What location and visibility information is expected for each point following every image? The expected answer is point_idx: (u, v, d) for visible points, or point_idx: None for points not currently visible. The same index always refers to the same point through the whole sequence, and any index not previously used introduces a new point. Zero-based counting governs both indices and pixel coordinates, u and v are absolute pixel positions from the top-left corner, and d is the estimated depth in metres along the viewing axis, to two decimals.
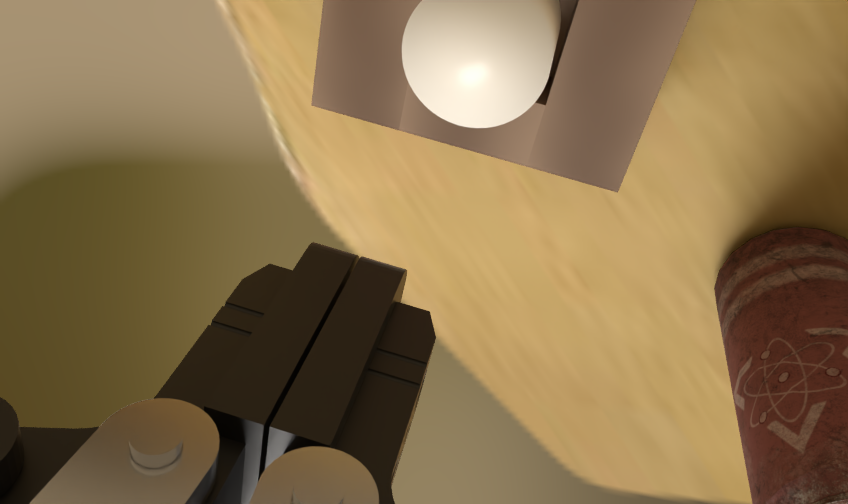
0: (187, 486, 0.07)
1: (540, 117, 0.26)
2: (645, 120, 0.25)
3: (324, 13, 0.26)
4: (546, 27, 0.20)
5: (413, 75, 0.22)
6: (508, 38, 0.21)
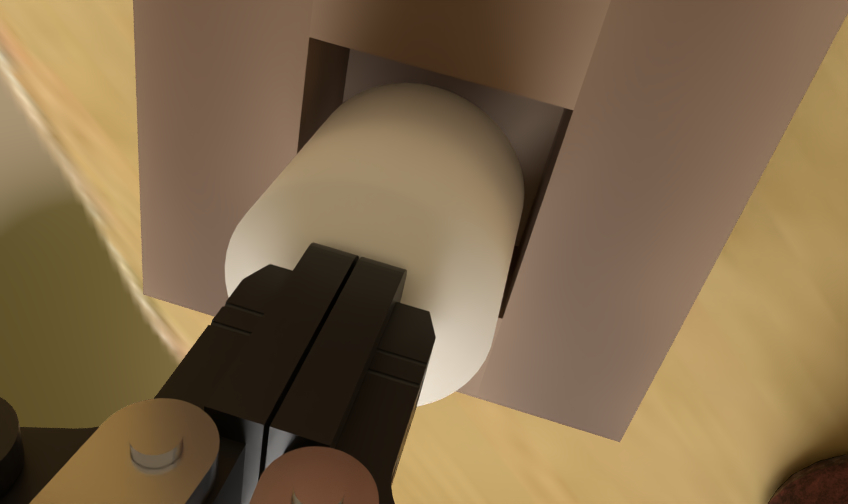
0: (187, 486, 0.07)
1: (494, 334, 0.16)
2: (665, 350, 0.15)
3: (142, 169, 0.16)
4: (483, 267, 0.11)
5: None
6: (414, 281, 0.11)
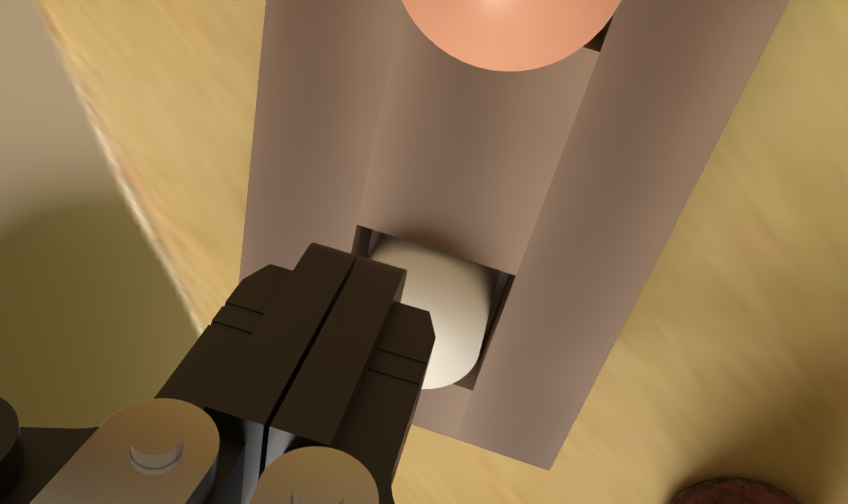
0: (187, 486, 0.07)
1: (467, 400, 0.25)
2: (576, 414, 0.24)
3: None
4: (475, 318, 0.22)
5: None
6: (440, 324, 0.22)
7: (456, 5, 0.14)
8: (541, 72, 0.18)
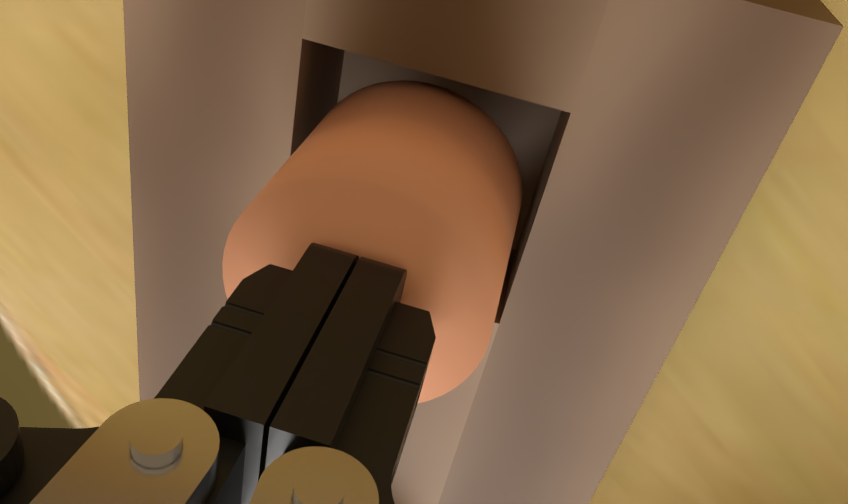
0: (187, 486, 0.07)
1: None
2: None
3: None
4: None
5: None
6: None
7: None
8: None
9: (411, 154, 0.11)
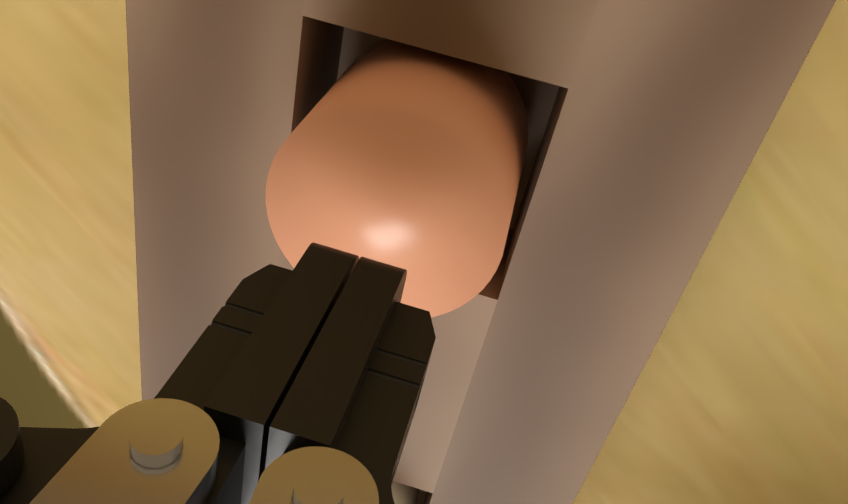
0: (187, 486, 0.07)
1: None
2: None
3: None
4: None
5: None
6: None
7: None
8: None
9: (434, 88, 0.13)
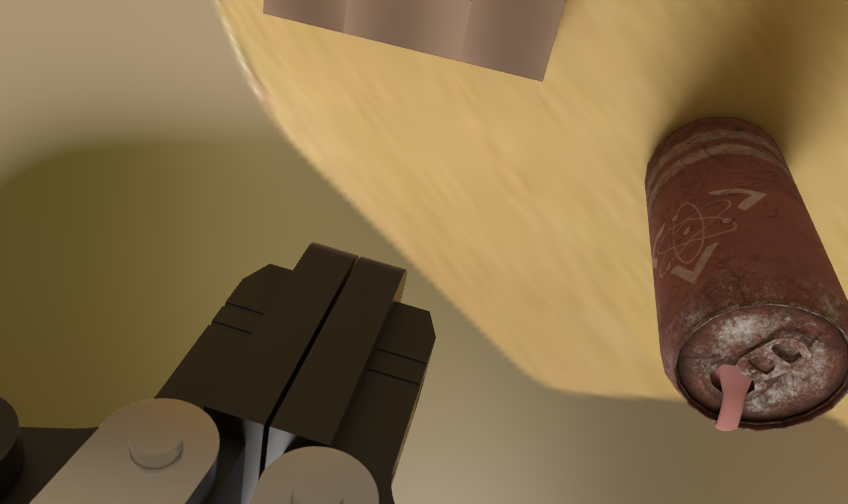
0: (187, 486, 0.07)
1: (468, 12, 0.29)
2: (561, 10, 0.28)
3: None
4: None
5: None
6: None
7: None
8: None
9: None
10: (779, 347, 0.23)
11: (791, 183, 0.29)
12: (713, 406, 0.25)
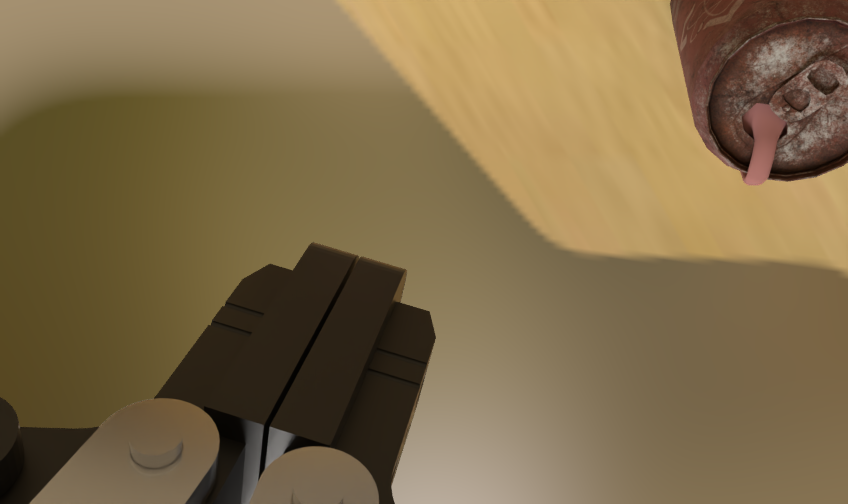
0: (187, 486, 0.07)
1: None
2: None
3: None
4: None
5: None
6: None
7: None
8: None
9: None
10: (815, 78, 0.23)
11: None
12: (743, 157, 0.25)
